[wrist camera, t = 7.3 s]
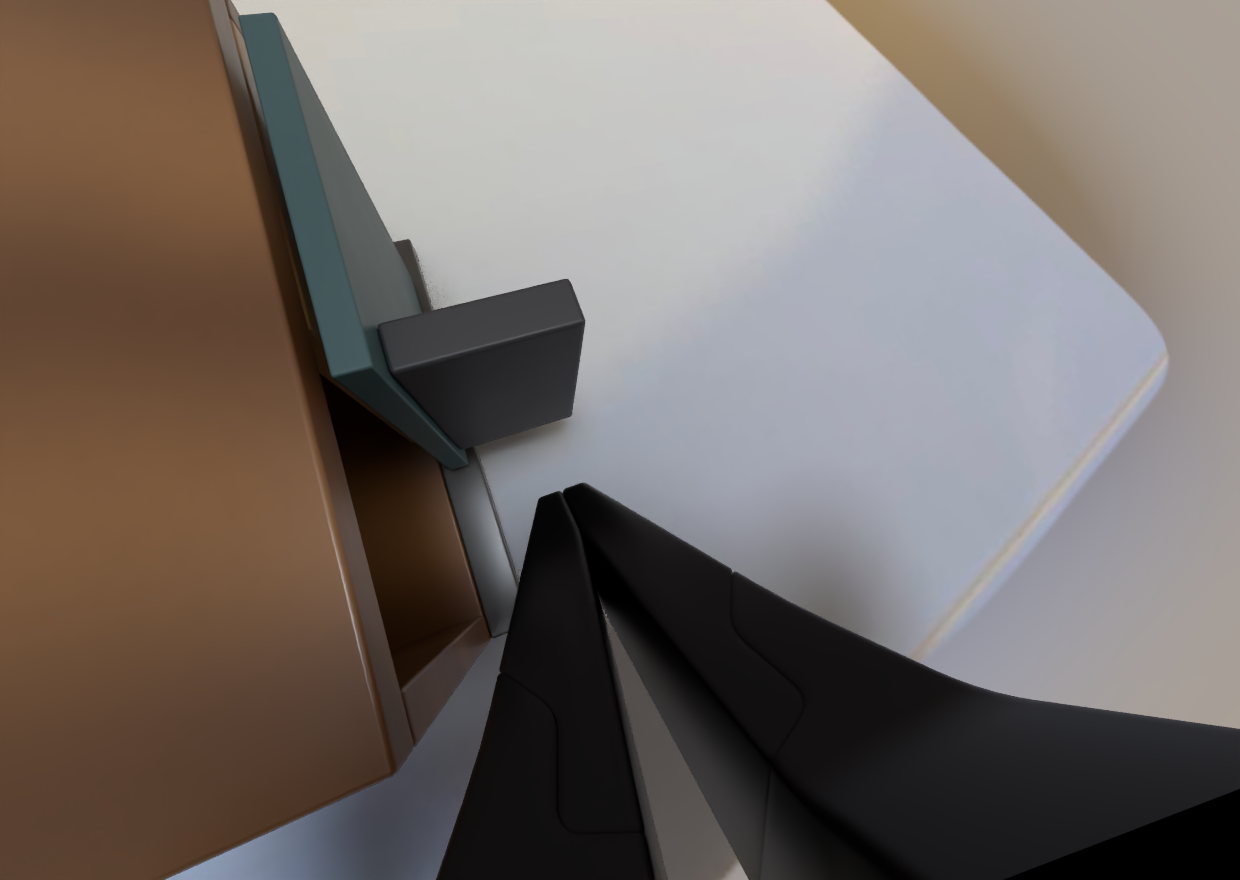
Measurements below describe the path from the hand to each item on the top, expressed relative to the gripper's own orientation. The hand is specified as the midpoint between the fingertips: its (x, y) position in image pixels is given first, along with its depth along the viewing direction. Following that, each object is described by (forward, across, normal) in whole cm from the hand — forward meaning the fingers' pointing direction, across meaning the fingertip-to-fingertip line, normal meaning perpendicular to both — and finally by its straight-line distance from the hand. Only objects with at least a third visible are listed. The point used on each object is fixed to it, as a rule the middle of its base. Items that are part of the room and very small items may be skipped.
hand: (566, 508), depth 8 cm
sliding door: (+9, +1, 0) cm, 9 cm away
